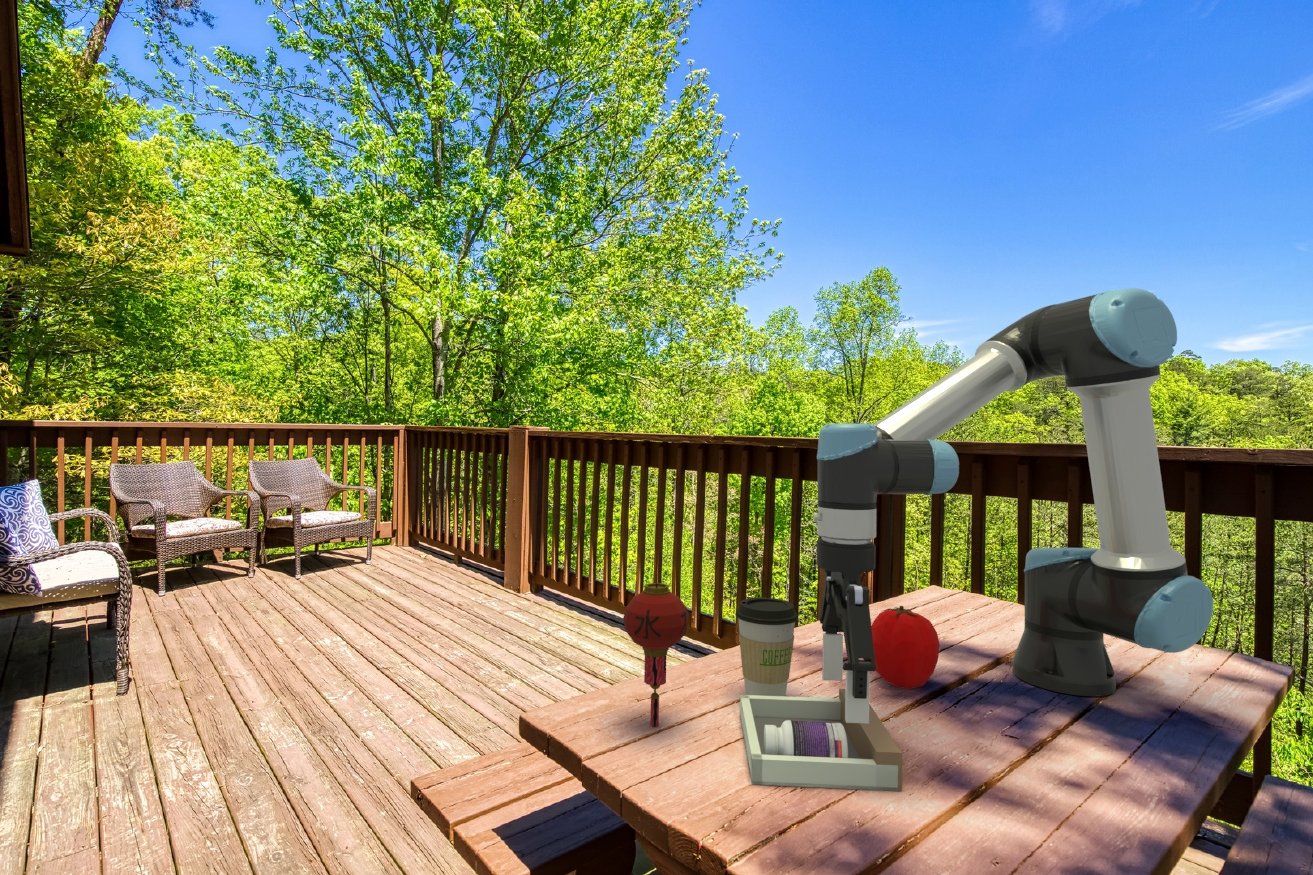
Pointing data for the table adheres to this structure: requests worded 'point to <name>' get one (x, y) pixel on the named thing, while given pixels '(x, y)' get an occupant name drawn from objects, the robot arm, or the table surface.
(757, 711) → the tray
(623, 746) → the table surface
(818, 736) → the pill bottle
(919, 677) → the tomato
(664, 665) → the lantern
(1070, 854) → the table surface
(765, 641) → the coffee cup
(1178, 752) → the table surface
